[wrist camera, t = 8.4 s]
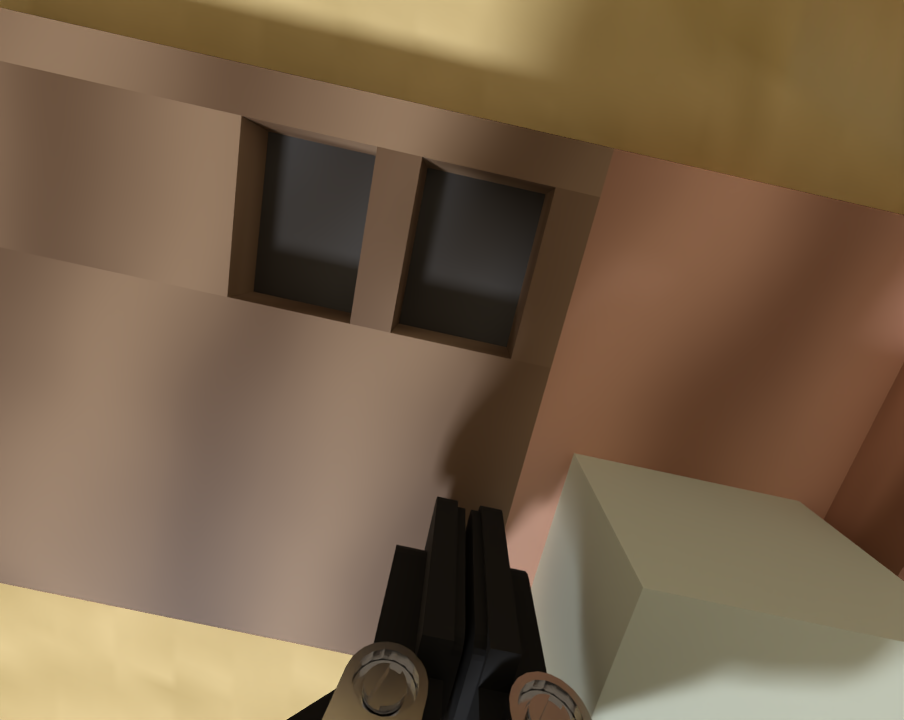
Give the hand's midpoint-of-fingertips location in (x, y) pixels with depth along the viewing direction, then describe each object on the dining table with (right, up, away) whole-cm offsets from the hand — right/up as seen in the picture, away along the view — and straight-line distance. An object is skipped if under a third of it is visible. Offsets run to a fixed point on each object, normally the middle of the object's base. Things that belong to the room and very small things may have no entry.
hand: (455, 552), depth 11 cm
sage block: (+5, -1, +1) cm, 6 cm away
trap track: (-1, +3, +2) cm, 4 cm away
